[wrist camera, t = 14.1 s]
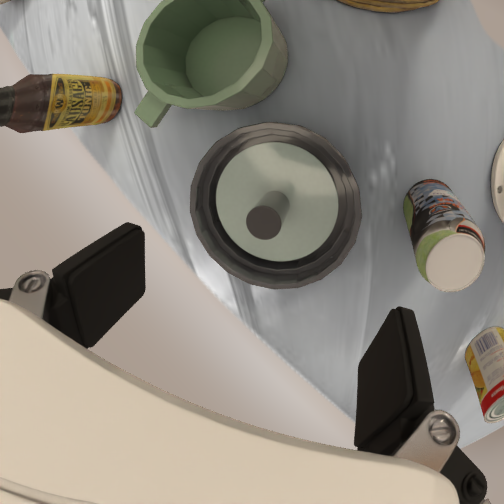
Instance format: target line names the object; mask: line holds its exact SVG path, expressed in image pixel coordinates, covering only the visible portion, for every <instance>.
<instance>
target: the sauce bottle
mask: <svg viewBox="0 0 504 504" xmlns="http://www.w3.org/2000/svg"><path fill="white" fill-rule="evenodd" d="M121 100H122V96H121V89H120V87H119V85H118V84H117V83H116V82H114V81H113V80H111V79H107V78H103V77H93V76H83V75H69V74H49V75H33V74H30V75H28V76H26V77H25V78H23V79H21V80H20V81H18V82H17V83H16V84H14V85H13V86H6V87H3V88H0V126H1V127H2V126H6V127H9V128H11V129H13V130H15V131H17V132H19V133H26V132H32V131H40V130H41V131H45V130H52V129H59V128H67V127H77V126H87V125H97V124H101V123H106V122H108V121H110V120H111V119H113V118H114V117H115V115H116V114H117V112H118V111H119V109H120V105H121Z"/></svg>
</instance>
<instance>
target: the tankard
mask: <svg viewBox="0 0 504 504" xmlns="http://www.w3.org/2000/svg"><path fill="white" fill-rule="evenodd" d="M337 1H340V2H342V3H345V4H347V5H350V6H354V7H357V8H361V9H366V10H371V11H379V12H395V13H396V12H404V11H410V10H415V9H417V8H420V7H427V6H430V5H432V4H435V3H436V2H438V1H439V0H337Z"/></svg>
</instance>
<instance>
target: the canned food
mask: <svg viewBox="0 0 504 504" xmlns="http://www.w3.org/2000/svg"><path fill="white" fill-rule="evenodd" d="M465 359H466V362H467V365H468V367H469V370H470V373H471V376H472V379H473V382H474V385H475V388H476V392H477V395H478V398H479V402H480V405H481V409H482V412H483V416H484V420H485V422H487V423H495V422H498V421H501V420H503V419H504V330H503V328H501V327H491V328H488V329H486V330H484V331H482V332H481V333H479V334H478V335H477V336H476V337H475V338H474V339H473V340H472V341H471V342H470V344H469V345H468V347H467V349H466V352H465Z"/></svg>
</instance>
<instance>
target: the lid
mask: <svg viewBox="0 0 504 504" xmlns="http://www.w3.org/2000/svg"><path fill="white" fill-rule="evenodd" d="M216 206H217V212H218V215H219V219H220V221H221V223H222V226H223V227H224V229H225V231H226V232H227V234H228V235H229V236H230V238H231V239H232V240H233V241H234V242H235V243H236V244H237V245H238V246H239V247H241V248H242V249H243V250H245V251H246V252H248V253H250V254H252V255H254V256H256V257H259V258H262V259H266V260H271V261H291V260H295V259H299V258H302V257H304V256H307V255H309V254H310V253H312V252H314V251H315V250H316V249H318V248H319V247H320V246H321V245H322V244H323V243H324V242H325V241H326V240H327V238H328V237H329V236H330V234H331V232H332V231H333V228H334V226H335V224H336V220H337V216H338V208H339V204H338V194H337V189H336V186H335V183H334V180H333V178H332V176H331V174H330V173H329V171H328V170H327V168H326V167H325V166H324V164H323V163H322V162H321V161H320V160H319V159H318V158H317V157H316V156H314V155H313V154H312V153H310V152H309V151H307V150H305V149H303V148H301V147H299V146H296V145H293V144H290V143H284V142H265V143H260V144H256V145H254V146H251V147H248V148H247V149H245V150H243V151H241V152H240V153H239V154H237V155H236V156H235V157H234V158H233V159H232V160H231V161H230V162H229V163H228V164H227V166H226V167H225V168H224V170H223V172H222V174H221V176H220V179H219V181H218V185H217V191H216Z"/></svg>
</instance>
